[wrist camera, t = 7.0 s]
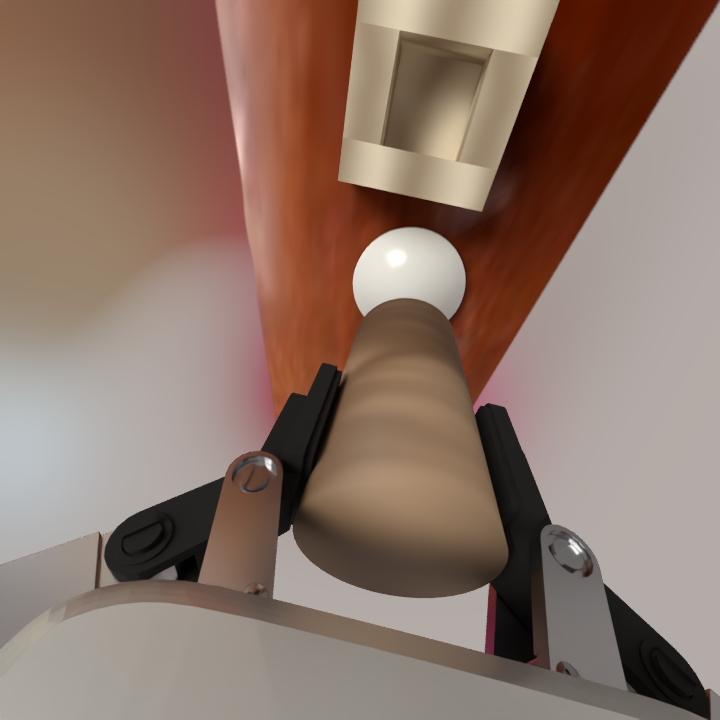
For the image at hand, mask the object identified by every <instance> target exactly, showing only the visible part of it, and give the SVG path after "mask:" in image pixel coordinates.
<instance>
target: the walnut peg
mask: <svg viewBox="0 0 720 720" xmlns="http://www.w3.org/2000/svg"><path fill="white" fill-rule="evenodd" d="M293 534H294V539H295V540H296V543H297V545H298V547H299V548H300V550H301V551H302V552H303V554H304V555H305V556H306V557H307V558H308V559H309V560H310V561H311V562H312V563H314V564H315V565H316V566H318V567H319V568H320V569H322V570H323V571H325V572H326V573H328V574H330V575H332V576H333V577H335V578H337V579H339V580H341V581H344V582H346V583H349V584H351V585H354V586H357V587H360V588H363V589H366V590H370V591H373V592H377V593H382V594H387V595H393V596H401V597H412V598H436V597H447V596H454V595H458V594H463V593H467V592H470V591H473V590H475V589H478V588H480V587H483V586H484V585H486V584H488V583H490V582H491V581H493V580H494V579H495V578H496V577H498V575H499V574H500V573H501V572H502V571H503V569H504V567H505V566H506V564H507V560H508V546H507V542H506V538H505V534H504V530H503V526H502V522H501V518H500V514H499V510H498V506H497V502H496V498H495V494H494V490H493V486H492V482H491V478H490V474H489V470H488V466H487V462H486V459H485V455H484V451H483V447H482V443H481V439H480V435H479V431H478V427H477V423H476V419H475V415H474V411H473V407H472V403H471V399H470V395H469V391H468V387H467V383H466V379H465V375H464V371H463V367H462V363H461V359H460V355H459V351H458V347H457V343H456V339H455V335H454V332H453V328H452V326H451V324H450V322H449V320H448V319H447V317H446V316H445V315H444V314H443V313H442V312H441V311H440V310H439V309H438V308H436V307H435V306H433V305H432V304H429V303H427V302H425V301H422V300H418V299H413V298H397V299H392V300H389V301H386V302H383V303H381V304H379V305H377V306H376V307H374V308H373V309H372V310H371V311H369V312H368V313H367V314H366V316H365V317H364V318H363V320H362V321H361V323H360V325H359V327H358V330H357V333H356V336H355V339H354V342H353V345H352V348H351V351H350V354H349V357H348V360H347V363H346V366H345V369H344V372H343V375H342V378H341V381H340V385H339V389H338V392H337V395H336V398H335V401H334V404H333V407H332V410H331V413H330V416H329V419H328V422H327V425H326V428H325V431H324V435H323V438H322V441H321V444H320V447H319V450H318V453H317V456H316V459H315V462H314V465H313V468H312V471H311V474H310V477H309V479H308V481H307V483H306V485H305V488H304V491H303V494H302V497H301V500H300V503H299V506H298V509H297V512H296V515H295V518H294V522H293Z"/></svg>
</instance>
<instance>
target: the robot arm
mask: <svg viewBox="0 0 720 720" xmlns="http://www.w3.org/2000/svg"><path fill="white" fill-rule="evenodd" d="M341 375H342V371H338V370H337V366H334V365H330V364H326V363H322V365H321V367H320V369H319V371H318V373H317V375H316V378H315V380H314V382H313V384H312V386H311V389H310V391H309V393H308V395H307V396H305V395H300V394H296V393H292V394H291V395H290V397H289V398H288V400H287V402H286V404H285V406H284V408H283V410H282V411H281V413H280V415H279V417H278V419H277V421H276V423H275V425H274V426H273V428H272V430H271V432H270V434H269V436H268V438H267V440H266V441H265V443H264V445H263V447H262V449H261V451H254V452H249V453H246V454H243V455H241V456H239V457H238V458H236V459H235V460H234V461H233V462H232V463H231V464H230V466H229V467H228V470H227V472H226V474H225V477H223V478H220V479H218V480H215V481H213V482H211V483H208V484H206V485H203V486H201V487H199V488H196V489H194V490H191V491H189V492H186V493H184V494H182V495H179V496H177V497H174V498H172V499H170V500H167V501H165V502H162V503H160V504H157V505H155V506H152V507H150V508H147V509H145V510H143V511H140V512H138V513H136V514H134V515H133V516H131V517H129V518H127V519H126V520H125V521H124V522H123V523H121V524H120V525H119V526H118V527H117V528H116V529H115V531H112V532H109V533H106V534H103V535H101V534H100V532H96V533H93V534H90V535H87V536H84V537H82V538H78V539H76V540H73V541H70V542H67V543H64V544H61V545H58V546H55V547H52V548H49V549H46V550H43V551H40V552H37V553H34V554H31V555H28V556H25V557H22V558H19V559H16V560H13V561H11V562H7V563H4V564H1V565H0V720H720V696H718V695H717V694H716V693H715V692H714V691H712V690H711V689H707V690H704V687H703V686H702V684H701V682H700V680H699V679H698V677H697V675H696V673H695V672H694V671H693V669H692V668H691V667H690V665H689V664H688V663H687V661H686V660H685V659H684V658H683V657H682V656H681V655H680V654H679V653H678V652H677V651H676V650H675V648H673V647H672V646H671V645H670V644H669V643H668V642H667V641H666V640H665V639H664V638H663V637H662V636H660V635H659V634H658V633H657V632H656V631H655V630H654V629H653V628H652V627H651V626H650V625H649V624H647V623H646V622H645V621H644V620H643V619H642V618H641V617H640V616H639V615H638V614H636V613H635V612H634V611H633V610H632V609H631V608H630V607H629V606H628V605H627V604H626V603H625V602H624V601H623V600H621V599H620V598H619V597H618V596H617V595H616V594H615V593H614V592H613V591H612V590H611V589H610V588H608V587H607V586H606V585H605V584H604V583H603V580H602V576H601V571H600V567H599V564H598V562H597V559H596V557H595V555H594V554H593V552H592V551H591V549H590V548H589V547H588V545H587V544H586V543H585V542H584V541H583V540H582V539H581V538H580V537H579V536H577V535H576V534H575V533H574V532H572V531H570V530H568V529H567V528H565V527H562V526H559V525H553V524H552V523H551V520H550V518H549V515H548V513H547V510H546V508H545V505H544V502H543V500H542V497H541V495H540V492H539V490H538V487H537V485H536V482H535V480H534V477H533V475H532V472H531V469H530V467H529V464H528V462H527V459H526V457H525V454H524V453H523V451H522V449H521V446H520V444H519V442H518V439H517V436H516V434H515V431H514V428H513V426H512V423H511V421H510V418H509V416H508V413H507V410H506V409H505V407H502V406H498V405H494V404H490V403H488V404H486V405H485V406H480V407H479V409H478V411H477V413H476V414H475V419H476V423H477V427H478V431H479V435H480V439H481V443H482V447H483V451H484V455H485V459H486V462H487V466H488V470H489V474H490V478H491V482H492V486H493V490H494V494H495V498H496V502H497V506H498V510H499V514H500V518H501V522H502V526H503V530H504V534H505V538H506V542H507V546H508V560H507V564H506V566H505V567H504V569H503V571H502V572H501V573H500V574H499V575H498V577H496V578H495V579H494V580H493V581H491V582H490V585H489V595H488V610H487V625H486V642H485V653H482V652H479V651H475V650H471V649H467V648H464V647H460V646H456V645H452V644H448V643H444V642H440V641H436V640H433V639H429V638H425V637H421V636H417V635H413V634H409V633H405V632H402V631H398V630H394V629H390V628H385V627H382V626H378V625H374V624H370V623H366V622H362V621H358V620H355V619H350V618H346V617H342V616H338V615H334V614H331V613H327V612H323V611H319V610H314V609H311V608H307V607H303V606H299V605H295V604H291V603H287V602H283V601H279V600H275V599H273V587H274V576H275V564H276V552H277V540H278V536H280V535H282V534H284V533H285V532H287V531H289V530H290V527H291V524H292V525H293V522H294V518H295V515H296V512H297V509H298V506H299V503H300V500H301V497H302V494H303V491H304V488H305V485H306V483H307V481H308V479H309V477H310V474H311V471H312V468H313V465H314V462H315V459H316V456H317V453H318V450H319V447H320V444H321V441H322V438H323V435H324V431H325V428H326V425H327V422H328V419H329V416H330V413H331V410H332V407H333V404H334V401H335V398H336V395H337V392H338V389H339V385H340V380H341Z"/></svg>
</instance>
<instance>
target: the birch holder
mask: <svg viewBox="0 0 720 720" xmlns="http://www.w3.org/2000/svg"><path fill="white" fill-rule="evenodd" d="M559 1H560V0H359V3H358V12H357V21H356V29H355V38H354V47H353V55H352V64H351V72H350V81H349V90H348V98H347V107H346V116H345V124H344V133H343V142H342V150H341V159H340V168H339V176H338V181H343V182H347V183H352V184H356V185H361V186H366V187H370V188H375V189H379V190H384V191H389V192H393V193H398V194H402V195H407V196H412V197H416V198H421V199H425V200H430V201H435V202H439V203H444V204H449V205H453V206H458V207H462V208H467V209H472V210H476V211H481V212H482V210H483V207H484V204H485V202H486V199H487V196H488V193H489V191H490V188H491V185H492V183H493V180H494V177H495V174H496V172H497V169H498V166H499V164H500V161H501V158H502V155H503V153H504V150H505V147H506V145H507V142H508V139H509V136H510V134H511V131H512V128H513V126H514V123H515V120H516V117H517V115H518V112H519V109H520V107H521V104H522V101H523V98H524V96H525V93H526V90H527V88H528V85H529V82H530V79H531V77H532V74H533V71H534V69H535V66H536V63H537V60H538V58H539V55H540V52H541V50H542V47H543V44H544V41H545V39H546V36H547V33H548V31H549V28H550V25H551V22H552V20H553V17H554V14H555V11H556V9H557V6H558V3H559Z"/></svg>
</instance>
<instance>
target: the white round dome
mask: <svg viewBox="0 0 720 720" xmlns="http://www.w3.org/2000/svg"><path fill="white" fill-rule="evenodd" d="M465 283H466V277H465V270H464V266H463V263H462V261H461V258H460V256H459V254H458V252H457V251H456V249H455V248H454V246H453V245H452V244H451V243H450V242H449V241H448V240H447V239H446V238H445V237H443V236H442V235H440V234H439V233H437V232H435V231H433V230H430V229H427V228H423V227H417V226H406V227H399V228H396V229H392V230H390V231H388V232H385V233H384V234H382V235H380V236H379V237H377V238H376V239H375V240H374V241H372V242H371V243H370V244H369V245H368V247H367V248H366V249H365V251H364V252H363V254H362V255H361V257H360V259H359V261H358V263H357V265H356V268H355V272H354V277H353V292H354V297H355V300H356V303H357V305H358V308H359V310H360V311H361V313H362V314H363V316H364V317H365V316H366V314H367V313H368V312H369V311H371V310H372V309H373V308H374V307H376V306H377V305H379V304H381V303H383V302H386V301H389V300H392V299H397V298H413V299H418V300H422V301H425V302H427V303H429V304H432V305H433V306H435V307H436V308H438V309H439V310H440V311H441V312H442V313H443V314H444V315H445V316H446V317H447V319H448V320H449V319H450V318H451V317H452V316H453V315H454V313H455V312H456V310H457V309H458V307H459V305H460V303H461V301H462V299H463V295H464V291H465Z"/></svg>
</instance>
